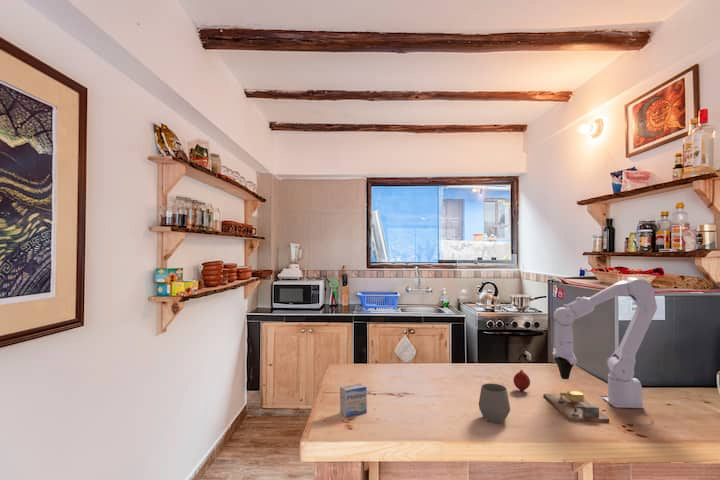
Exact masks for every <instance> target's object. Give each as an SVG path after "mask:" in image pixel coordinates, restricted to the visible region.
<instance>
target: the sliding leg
mask: <svg viewBox="0 0 720 480" xmlns="http://www.w3.org/2000/svg"><path fill="white" fill-rule="evenodd" d="M559 394H560V399H561V400H562V395H567V399H569V400H570V401H571V402H584V400H585V399H584V396H585V395H584V394H583V393H582V392H581V391H579V390H578V391H575V390H573V391H572V390H571V391H570V390H568V391H567V392H560V393H559Z"/></svg>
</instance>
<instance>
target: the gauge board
mask: <svg viewBox="0 0 720 480" xmlns="http://www.w3.org/2000/svg"><path fill="white" fill-rule="evenodd" d="M543 398H545V399H546V401H548V402H549V404H550V405H552V406H553V407H554V408H555V409H556V410H557V411H558V412H559V413H560V414H561V415H562V416H563V417H565V418H566V420H567V421H568V422H584V423H585V422H586V423H587V422H590V423H591V422H595V423H609V422H610V418H609V417H608V416H606V415H605V414H604V413H602V412H601V411H600V407H599V406H598V405H596V404H591V403H589V402H588V401H587V400H585V399H584V402H571V401H570V400H569V399H567V395H562V400H561V399H560V393H543Z"/></svg>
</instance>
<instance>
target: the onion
mask: <svg viewBox="0 0 720 480" xmlns="http://www.w3.org/2000/svg"><path fill="white" fill-rule="evenodd" d="M513 384H514V386H515V387H516V388H517V389H518V390H519V391H521V392H524V391H526V390H527V389H529V387H530V385H531V380H530V377H529V375H528V374H527V373H525V371H524V369H520V370H519V371H518V372H517V373H516V374H515V375H514V376H513Z"/></svg>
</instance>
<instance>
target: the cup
mask: <svg viewBox="0 0 720 480" xmlns="http://www.w3.org/2000/svg"><path fill="white" fill-rule="evenodd" d="M508 394H509V393H508V389H507V387H506V386H504V385H502V384H499V383H498V384H497V383H493V382H491V383H484V384H482V385H481V389H480V395H479V400H478V408H479V411H480V413H481V415H482V417H483V418H484V419H485V420H486V421H488V422H490V423H494V424H501V423H504V422H505V421H506V419H507V418H508V415H509V413H510V411H511V405H510V401H509V395H508Z"/></svg>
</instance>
